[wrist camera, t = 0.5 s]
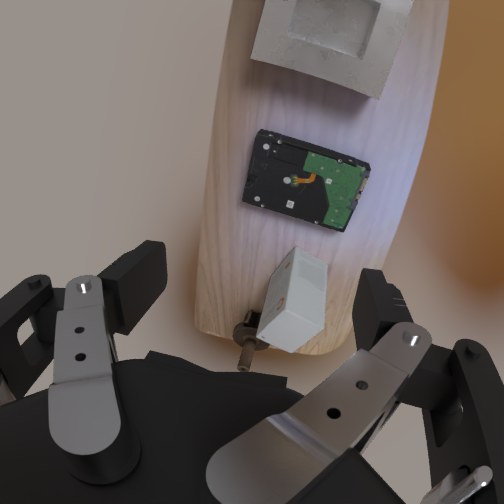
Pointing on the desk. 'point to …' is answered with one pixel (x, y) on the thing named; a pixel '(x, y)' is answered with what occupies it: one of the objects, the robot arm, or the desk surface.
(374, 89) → the socket block
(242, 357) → the industrial component
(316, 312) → the small box
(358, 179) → the disk drive
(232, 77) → the desk surface
